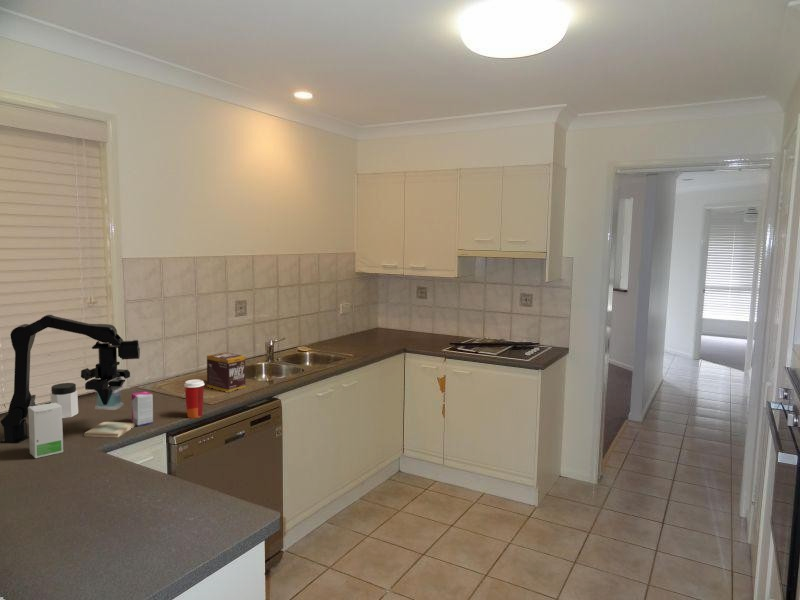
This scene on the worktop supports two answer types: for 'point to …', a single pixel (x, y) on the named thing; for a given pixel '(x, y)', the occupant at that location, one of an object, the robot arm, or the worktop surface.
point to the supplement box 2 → (225, 371)
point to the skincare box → (45, 430)
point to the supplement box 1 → (142, 408)
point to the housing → (111, 399)
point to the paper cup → (194, 398)
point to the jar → (65, 398)
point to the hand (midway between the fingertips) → (109, 402)
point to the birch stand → (110, 429)
